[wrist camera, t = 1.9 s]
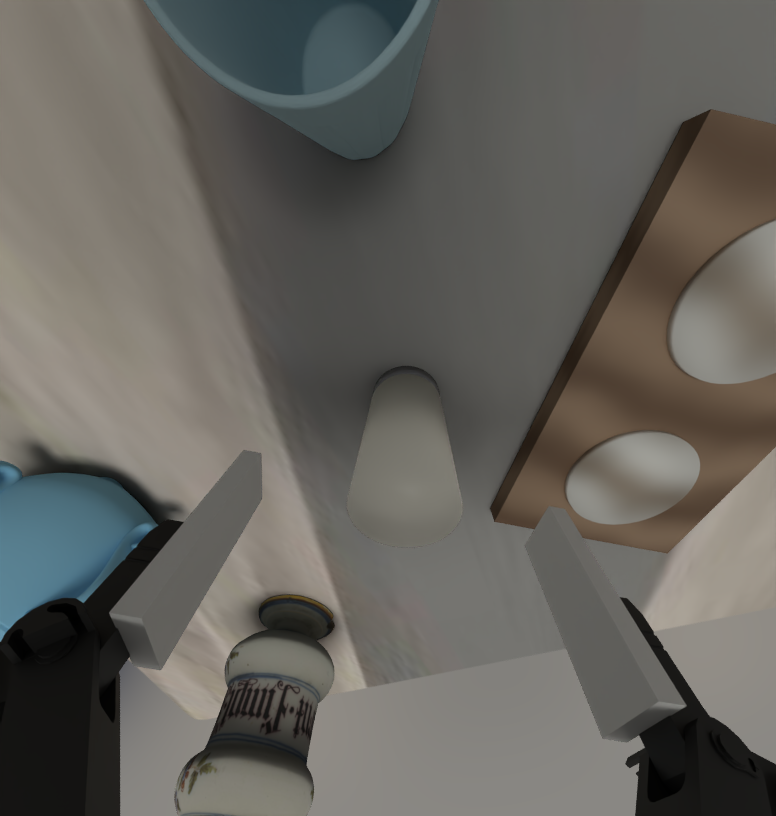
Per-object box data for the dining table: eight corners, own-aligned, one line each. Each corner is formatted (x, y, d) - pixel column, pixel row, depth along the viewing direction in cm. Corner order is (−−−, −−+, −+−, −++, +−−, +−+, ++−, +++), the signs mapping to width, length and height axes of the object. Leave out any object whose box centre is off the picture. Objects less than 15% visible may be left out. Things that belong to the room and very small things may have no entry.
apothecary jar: (350, 641, 41) (312, 891, 25) (266, 639, 42) (180, 876, 26) (334, 589, 35) (274, 870, 19) (238, 588, 36) (106, 852, 20)
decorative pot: (35, 417, 26) (-291, 563, 14) (206, 510, 30) (69, 684, 18) (10, 513, 32) (-225, 669, 20) (154, 578, 36) (28, 740, 24)
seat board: (683, 122, 14) (721, 104, 13) (983, 192, 15) (1059, 185, 13) (490, 508, 27) (496, 526, 26) (655, 538, 28) (671, 558, 26)
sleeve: (379, 359, 21) (354, 453, 12) (447, 373, 21) (479, 477, 12) (368, 418, 24) (340, 537, 14) (430, 430, 24) (444, 555, 14)
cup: (468, 40, 14) (587, -389, 4) (388, 215, 17) (360, 176, 8) (316, -84, 12) (36, -1066, 3) (262, 133, 16) (52, -29, 7)
